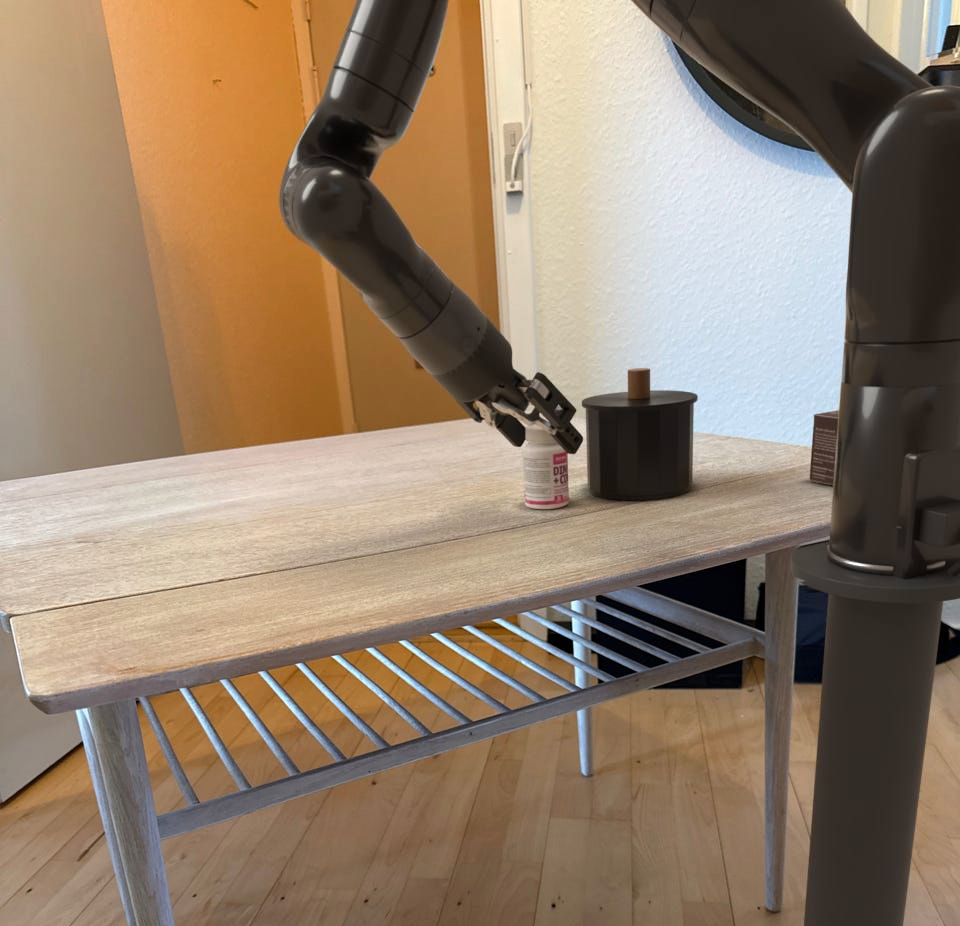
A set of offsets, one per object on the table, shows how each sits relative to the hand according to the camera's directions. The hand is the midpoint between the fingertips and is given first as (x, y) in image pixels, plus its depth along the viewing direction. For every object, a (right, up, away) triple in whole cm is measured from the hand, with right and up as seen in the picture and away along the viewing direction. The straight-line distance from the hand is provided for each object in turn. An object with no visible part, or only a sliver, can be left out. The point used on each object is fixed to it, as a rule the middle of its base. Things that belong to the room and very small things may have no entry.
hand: (548, 443), depth 97 cm
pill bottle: (0, -6, +2) cm, 7 cm away
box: (+33, -4, +2) cm, 33 cm away
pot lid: (+10, +5, +3) cm, 12 cm away
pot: (+11, -4, +6) cm, 13 cm away
